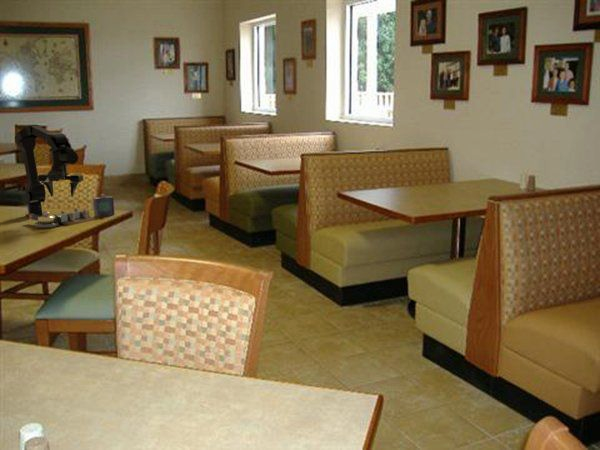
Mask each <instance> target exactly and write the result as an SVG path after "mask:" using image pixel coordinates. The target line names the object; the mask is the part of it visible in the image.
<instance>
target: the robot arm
mask: <svg viewBox="0 0 600 450" xmlns="http://www.w3.org/2000/svg"><path fill="white" fill-rule="evenodd" d="M38 138H39V139H41V140H43V141H44V142H46V144H47V145H48V147H50V148H49V149H48V152H50V153H51V160H52V165H51V167H50V168H51V169H50V170H49V171H48V172H47V173H41V174H39V173H38V169H37V168H38V167H37V164H36V158H35V152H34V151H35V148H36V146H37V139H38ZM14 140H15V142H16V143H15V144H16V147H17V148H18V149H19V150H20V151H21V153H22V158H23V163H24V170H25V174H26V181H27V182H26V186H25V187H24V190H25V191H24V192H25V193H24V195H23V197H22V199H21V202H22V203H23V204H25V205H27V212H28V213H27V214H25V216H26V217H29V215H30V214H38V215H43V207H42V203H45V202H46V196H47V193H46V189H47V191H48V193H49V194H50V197H54V185H53V182H60V181H62V180H63V181H70V182H69V185H70V195H71V198H73V197H74V195H75V192H76V190H77V187H78V185H79V183H81V182H82V181H84V175H83V174H82V173H72V174H71V175H69V172H68V168H67V167H68V164H69V165H76V163H78V160H79V155H78V153H77V152H76V151H74V148H73V147H72V144H71V143H70V142H69V139H68V138H67V136H66V135H65V133H62V132H61V133H60V132H52V131H50V130H48V129H46V128H44V127H42V126H40V125H38V124H29V125H27V126H26V127H25V128H23V129H21V130H19V131H18V132H17V133H16V134H15V136H14ZM45 187H46V189H45Z"/></svg>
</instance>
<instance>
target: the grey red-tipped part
mask: <svg viewBox="0 0 600 450" xmlns="http://www.w3.org/2000/svg"><path fill="white" fill-rule="evenodd" d="M49 215H50V216H43V215H38V214H30V215H29V216H28V218H29V219H30V220H33V221H37V222H38V223H40V224H48V223H53V222H55V215H54V214H49Z"/></svg>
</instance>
